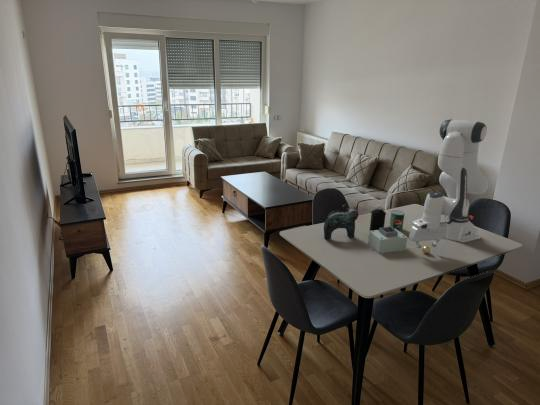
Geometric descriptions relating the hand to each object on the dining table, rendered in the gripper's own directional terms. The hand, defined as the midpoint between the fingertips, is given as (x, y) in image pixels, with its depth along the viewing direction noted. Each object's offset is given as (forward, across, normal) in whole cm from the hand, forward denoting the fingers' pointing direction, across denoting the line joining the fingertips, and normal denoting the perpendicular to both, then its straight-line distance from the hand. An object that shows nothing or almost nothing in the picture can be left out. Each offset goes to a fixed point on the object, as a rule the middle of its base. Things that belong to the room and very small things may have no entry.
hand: (426, 247), depth 199 cm
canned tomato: (+4, -3, -33) cm, 34 cm away
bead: (+4, -1, 0) cm, 4 cm away
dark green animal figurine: (+4, +36, -28) cm, 46 cm away
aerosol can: (+4, +16, -23) cm, 29 cm away
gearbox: (+4, +16, -11) cm, 20 cm away
